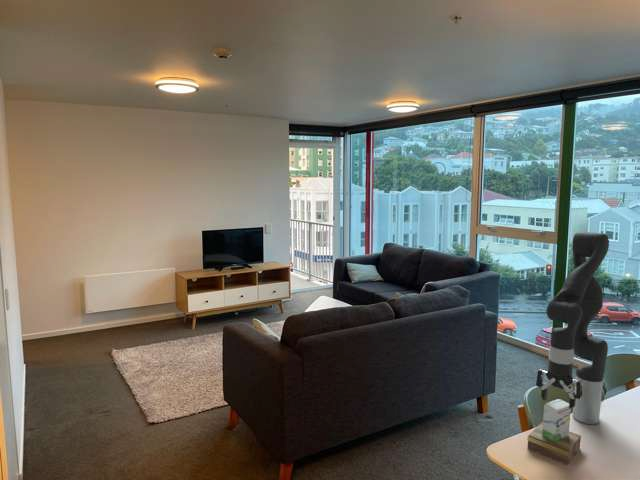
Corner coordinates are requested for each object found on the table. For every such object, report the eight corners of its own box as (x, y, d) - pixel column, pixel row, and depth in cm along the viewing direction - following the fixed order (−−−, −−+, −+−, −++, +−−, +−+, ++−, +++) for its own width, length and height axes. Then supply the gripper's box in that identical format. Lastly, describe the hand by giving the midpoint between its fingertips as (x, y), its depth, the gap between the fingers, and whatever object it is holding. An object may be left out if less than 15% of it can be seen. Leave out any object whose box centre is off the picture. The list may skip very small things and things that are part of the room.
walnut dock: (541, 434, 174) (542, 421, 173) (579, 448, 164) (580, 435, 164) (526, 449, 164) (527, 435, 163) (566, 465, 155) (567, 451, 154)
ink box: (554, 442, 159) (557, 409, 158) (541, 435, 164) (543, 403, 162) (569, 435, 164) (572, 404, 162) (556, 429, 168) (558, 398, 166)
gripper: (587, 361, 157) (583, 406, 160) (543, 350, 167) (540, 393, 170) (580, 368, 152) (576, 415, 154) (535, 356, 162) (532, 400, 164)
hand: (557, 403), depth 162 cm, fingers open, 8 cm apart
